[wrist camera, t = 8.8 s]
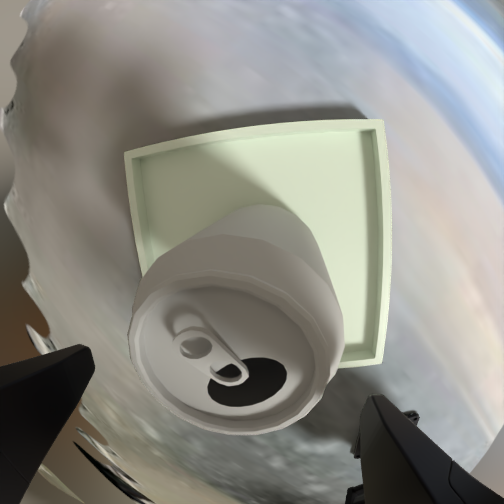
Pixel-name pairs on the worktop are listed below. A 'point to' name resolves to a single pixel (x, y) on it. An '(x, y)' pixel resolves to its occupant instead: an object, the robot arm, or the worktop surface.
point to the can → (239, 324)
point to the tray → (282, 204)
